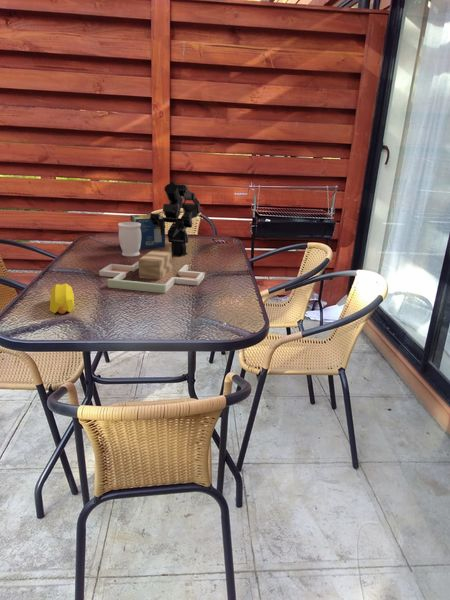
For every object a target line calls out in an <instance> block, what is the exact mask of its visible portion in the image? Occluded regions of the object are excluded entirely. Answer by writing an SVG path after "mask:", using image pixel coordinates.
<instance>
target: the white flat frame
mask: <svg viewBox="0 0 450 600" xmlns="http://www.w3.org/2000/svg"><path fill="white" fill-rule="evenodd" d="M189 266H190V265H189V264H184V265H183V266H182V267H181V268H180V269H179V270H178V272H177V273H178V276H179V277H178V276H172V277H171V278H169V279H168V280H167V281H166V283H154V282H146V281H136V280H134V281H133V280H126V279H125V278H127V274H128V273H130V272H135V271H136V270H137V269H138V270H139V261H138V260H137V261H136V262H135V263H132V265H127V264H118V263H110V264H108V265H107V266H105V267H103V268H102V269H100V270H99V271H98V274H99V276H100V277H110V278H107V281H106V282H107V288H110V289H111V288H113V289H121V290H131V291H132V290H133V291H138V292H139V291H140V292H151V293H158V294H166V293H167V292H168V291H169V290H170V289H171V288H172V286H174V285H175V284H178V285H179V284H180V285H191V286H199V285H200V283H201V282H202V281H203V280H204V279H205V277H206V276H205V275H206V272H202V271H193V270H192V271H190V270H189ZM111 277H112V278H111ZM124 279H125V280H124Z"/></svg>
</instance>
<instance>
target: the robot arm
mask: <svg viewBox="0 0 450 600" xmlns="http://www.w3.org/2000/svg"><path fill="white" fill-rule="evenodd" d="M164 192H165V194H166V197H167V200H168V201H169V202H168V203H163V205H162V212H163V215H164V216H162V215H161V214H160V213H155V212H153V213H152V212H151V213H150V214H151V215H150V220H151V222H152V224H153V225H159V227H160V230H161V236H163V234H164V230H165V231H166V223H171V225H170V226H169V228H168V230H167V240H168V243H171V251H170V252H172V256H175V257H182V256H183V257H184V256H185V255H188V252H187V245H186V244H188V243H189V235H188V233H187V228H188V229H189V228H192V227H193V219H194V218H197V217H198V216H199V214H201V205H200V204H201V203H200V201H199V200H198V198H197V197H196V194H195V193H196V192H192V191H191V190H189V188H188V186H187V184H185V183H183V184H182V183H181V184H180V183H176V182H175V181H170V182H169V183H168V184H167V185H165V186H164ZM183 199H184V200H183ZM187 201H192V202H193V204H192V203H186V202H187ZM181 209H182V212H183V214H182V215H181ZM160 215H161V216H160ZM180 216H181V218H180ZM164 223H165V224H164Z"/></svg>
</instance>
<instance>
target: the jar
mask: <svg viewBox="0 0 450 600" xmlns="http://www.w3.org/2000/svg"><path fill="white" fill-rule="evenodd" d="M140 226H141V223H138V222H131V221H124V222H123V221H122V222H118V225H117V227H119V228H118V242H119V245H120V248H121V250H122V253H121V256H123V257H128V258H129V257H131V258H132V257H137V256H140V255H141V253H140V250H141V249H140V246H141V230H140Z"/></svg>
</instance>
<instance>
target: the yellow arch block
mask: <svg viewBox="0 0 450 600" xmlns="http://www.w3.org/2000/svg"><path fill="white" fill-rule="evenodd" d="M49 299H50V300H49V311H50V312H51V313H53V314H57V312H58V313H59V314H61V315H63V314H65V313H66V312H68V313H71V312H72V311H73V310H74V309H75V294H74V291H73V288H72V286H71V285H69V284H68V283H62V284H58V283H56V284H54V286H53V287H52V288H51V291H50V298H49Z"/></svg>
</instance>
